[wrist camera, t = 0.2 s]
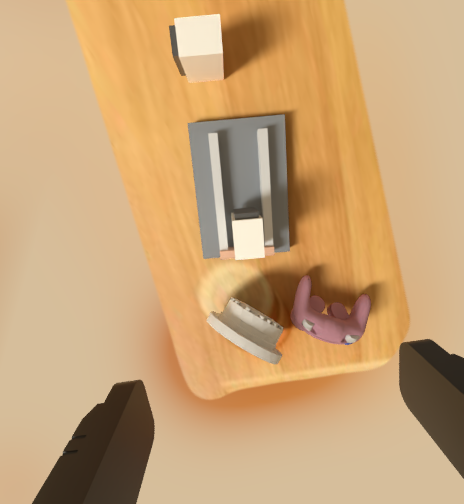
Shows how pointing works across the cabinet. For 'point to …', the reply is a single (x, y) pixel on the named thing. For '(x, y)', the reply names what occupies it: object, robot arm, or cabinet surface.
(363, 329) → the pink curved lobed piece
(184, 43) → the cream block
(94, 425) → the robot arm
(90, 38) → the cabinet surface
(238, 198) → the rail mount
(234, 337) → the mechanical component
